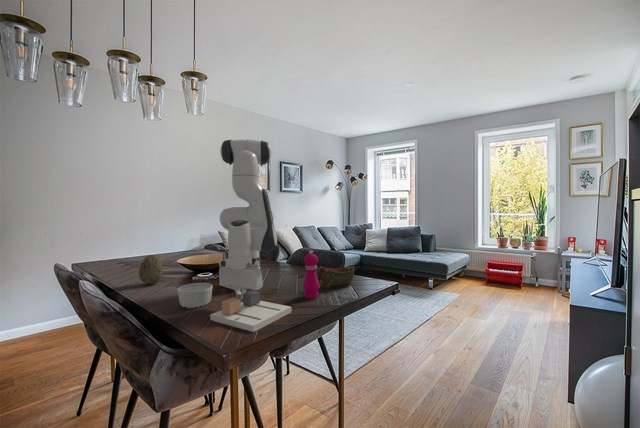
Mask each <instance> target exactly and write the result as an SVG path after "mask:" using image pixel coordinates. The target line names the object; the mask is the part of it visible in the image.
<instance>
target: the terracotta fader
mask: <svg viewBox="0 0 640 428" xmlns="http://www.w3.org/2000/svg"><path fill="white" fill-rule="evenodd" d="M241 303H242V299H241V298H237V297H231V298H227V299H224V300H221V310H222V313H225V314H229V315H231V314H233V313H236V312H238V311H241Z"/></svg>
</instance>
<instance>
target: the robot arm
mask: <svg viewBox="0 0 640 428" xmlns="http://www.w3.org/2000/svg"><path fill="white" fill-rule="evenodd" d="M219 152H220V153H219V154H220V157H221V160H222V161H223V162H224V163H226V164H229V165H230V166H231V165H232V171H231V175H232V176H231V183H232V188H233V189H232V190H233V191H234V193H235V195H236V196H237V198H239V199H241V200H242V201H244V202H247V203H248V206H233V207H227V208H223V209H222V210H221V212H220V215H219V223H220V225H221V226H222V227H223V228H224V229H225V230H226V231H228V232H227V246H228V254H227V255H228V256H227V258H225V259H222V260H220V261H219V262H218V266H219V270H218V278H219V279H218V280H219V283H218V285H219V286H221V287H224V288H227V289H231V290H234V292H235V294H236V297H235V298H237V299H241V300H243V294H244V293H247V292H248V290H251V291H257V290H258V291H259V290H260V289H261V288H262V287H264V281H263V275H262V270H261V267H260V266H261V256H260V252H265V253H270V252H271V251H273V250H274V249H275V248H276V247H277V245H278V235H277V232H276V229H275V224H274V221H275V219H274V218H275V217H274V213H273V211H272V208H271V203H270V198H269V194H268V192H267V190H266V189H264V188H263V187H262V185H261V182H260V170H259V165H260V167H263V166H264V165H266V164H268V163H269V162H270V160H271V157H272V149H271V146H270V144H269V142H267V141H264V140H256V139H255V140H254V139H226V140H224V141H222V144H221V146H220V151H219Z"/></svg>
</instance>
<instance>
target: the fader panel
mask: <svg viewBox="0 0 640 428" xmlns="http://www.w3.org/2000/svg"><path fill="white" fill-rule="evenodd" d="M292 309H293V308H292V306H288V305H284V304H281V303H275V302H269V301H264V300H260V303H258V304H255V305H253V306H247V305H243V301H241V311H238V312H236V313H233V314H231V315H229V314H225V313H222V309H221V310H217V311H216V312H213V313H211V314H210V315H209V317H210V321H212V320H213V322H215V323H219V324H223V325H227V326H230V327H233V328H237V329H241V330H245V331H248V332H252V333H255V332H256V331H259V330H260V329H263V328H264V327H266V326H268V325H270V324H271V323H274V322H276V321H278V320H279V319H281V318H283V317H285V316H287V315H289V314H291V313H292Z"/></svg>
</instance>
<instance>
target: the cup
mask: <svg viewBox="0 0 640 428" xmlns="http://www.w3.org/2000/svg"><path fill="white" fill-rule="evenodd" d="M316 271H317V273H316V277H317V279H318V281H319V285H320V286H321V288H322V289H324V290H336V289H343V288H347V287H349V286H350V284H351V283H352V281H353V279H354V276H355V267H353V266H352V267H351V266H348V267H339V268H328V267H324V266H319V267H317V269H316Z"/></svg>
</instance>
